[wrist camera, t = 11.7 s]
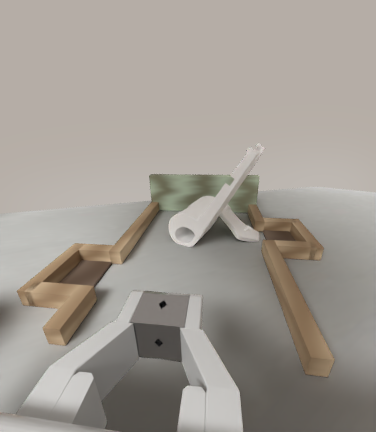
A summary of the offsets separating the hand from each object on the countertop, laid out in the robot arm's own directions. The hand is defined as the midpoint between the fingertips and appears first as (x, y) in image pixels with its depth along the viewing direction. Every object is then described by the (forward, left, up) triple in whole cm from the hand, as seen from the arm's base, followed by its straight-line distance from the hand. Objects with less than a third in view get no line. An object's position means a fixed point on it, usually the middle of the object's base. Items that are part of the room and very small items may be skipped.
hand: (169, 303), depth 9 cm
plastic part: (+2, +18, -7) cm, 19 cm away
